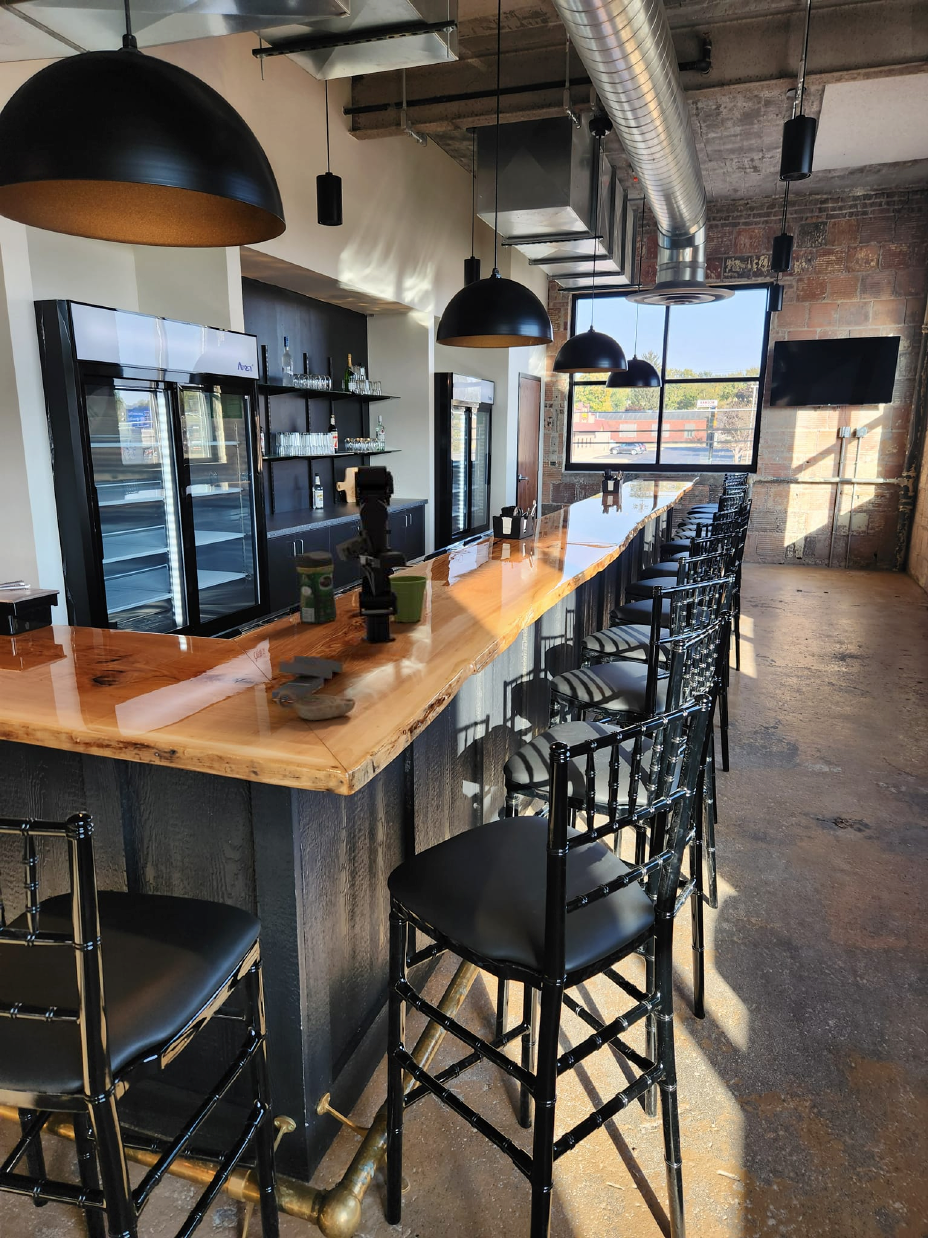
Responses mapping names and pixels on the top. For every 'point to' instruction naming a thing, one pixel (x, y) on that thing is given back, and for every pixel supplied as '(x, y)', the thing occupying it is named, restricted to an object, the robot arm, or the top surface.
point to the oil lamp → (317, 705)
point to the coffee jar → (316, 587)
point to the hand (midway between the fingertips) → (376, 595)
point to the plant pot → (409, 597)
